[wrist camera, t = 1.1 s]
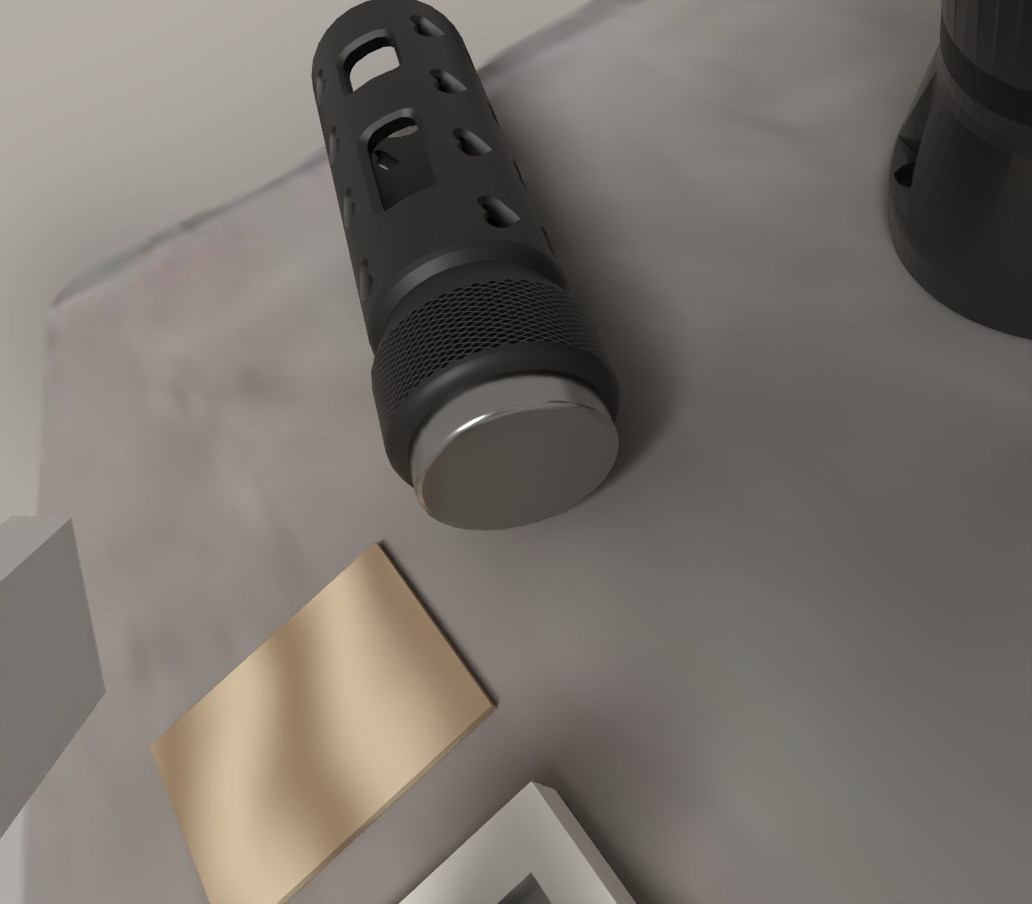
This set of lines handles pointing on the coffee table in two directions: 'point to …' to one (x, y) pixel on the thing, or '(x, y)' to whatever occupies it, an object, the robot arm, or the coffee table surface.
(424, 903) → the socket block
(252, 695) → the wooden board
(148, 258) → the coffee table surface
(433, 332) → the muzzle brake
